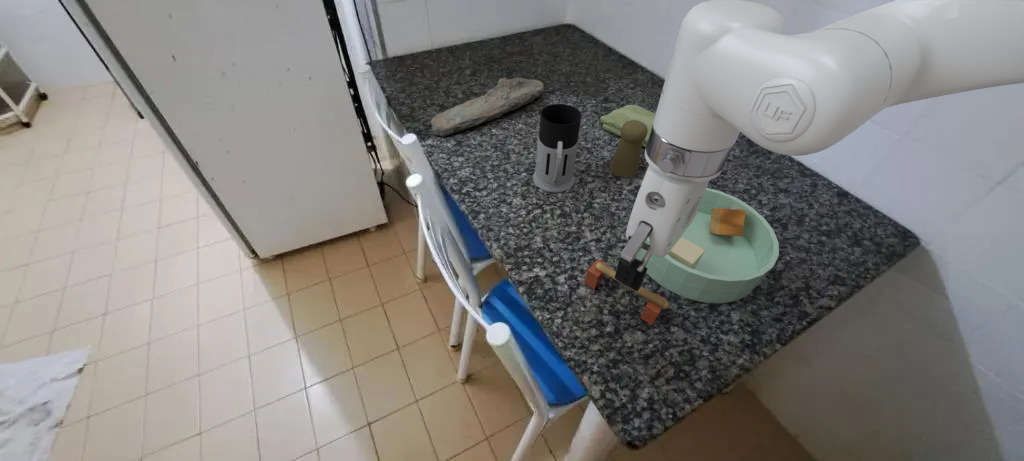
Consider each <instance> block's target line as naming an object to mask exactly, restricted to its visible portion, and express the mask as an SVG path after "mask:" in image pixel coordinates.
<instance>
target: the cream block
mask: <svg viewBox="0 0 1024 461" xmlns="http://www.w3.org/2000/svg"><path fill="white" fill-rule="evenodd" d="M704 252H705V250H703V249H702V248H700V247H698V246H697V245H695V244H693V243H691V242H690V241H688V240H686V239H685V238H683V237H682V238H681V239H680V240H679V241H678V242H677V243H676V244H675V246H674V247H673V248H672V249H671V251H670V252H669V253H668V255H669V256H670V257H672V258H673V259H674V260H676V261H678V262H680V263H682V264H684V265H685V266H687V267H689V268H692V269H695V268H696V266H697V264H698V262H699V261H700V259H701V257H702V255H703V254H704Z"/></svg>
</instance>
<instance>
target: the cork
mask: <svg viewBox="0 0 1024 461" xmlns="http://www.w3.org/2000/svg"><path fill="white" fill-rule="evenodd" d="M647 133H648V129H647V126H646V125H645V124H644V123H643V122H641V121H637V120H630V121H627V122H625V123H624V124H623V126H622V128H621V136H620V137H621V138H620V140H619V143H618V145H617V148H616V150H615V152H614V155H613V157H612V159H611V161H610V165H609V170H610V171H611V173H613V174H614V175H616V176H617V177H620V178H626V179H627V178H633V177H635V176H637V175H638V173H639V168H640V167H639V166H640V160H641V153H642V147H643V146H642V141H643V140H645V138H646V136H647Z"/></svg>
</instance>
